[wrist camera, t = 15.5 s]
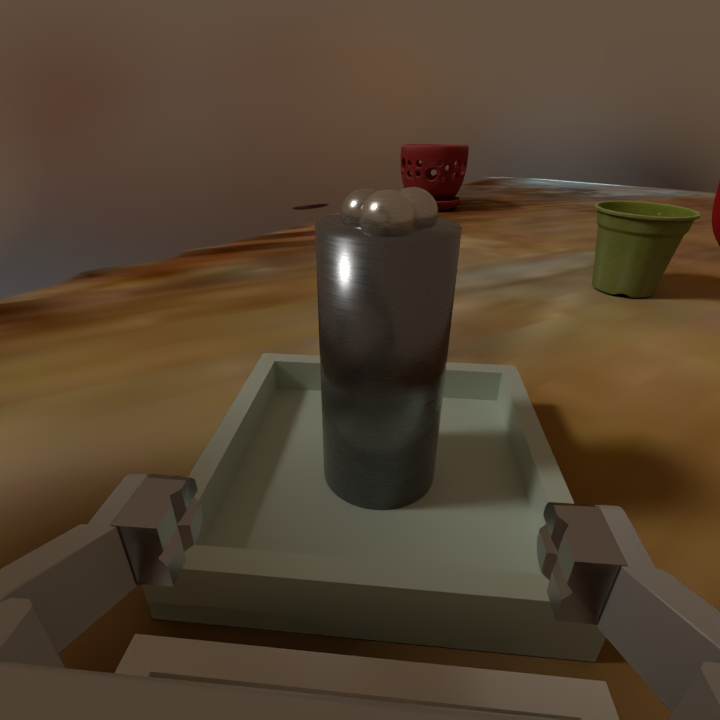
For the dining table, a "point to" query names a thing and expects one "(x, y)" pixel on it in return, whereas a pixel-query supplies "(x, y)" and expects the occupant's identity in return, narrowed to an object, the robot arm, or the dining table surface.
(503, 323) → the dining table surface
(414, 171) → the plant pot
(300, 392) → the bin
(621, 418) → the dining table surface
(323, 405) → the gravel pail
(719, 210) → the ceramic cup
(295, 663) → the tray
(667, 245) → the plant pot
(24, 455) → the dining table surface
